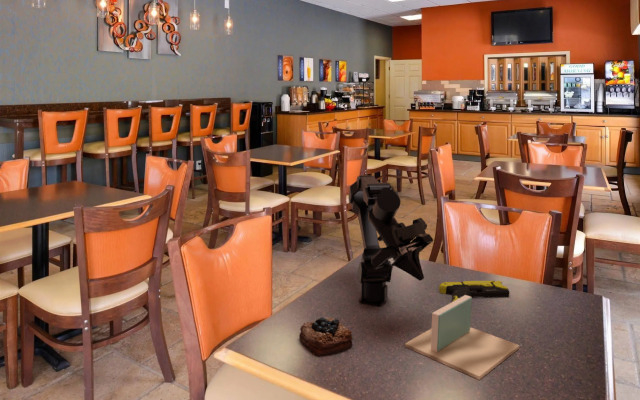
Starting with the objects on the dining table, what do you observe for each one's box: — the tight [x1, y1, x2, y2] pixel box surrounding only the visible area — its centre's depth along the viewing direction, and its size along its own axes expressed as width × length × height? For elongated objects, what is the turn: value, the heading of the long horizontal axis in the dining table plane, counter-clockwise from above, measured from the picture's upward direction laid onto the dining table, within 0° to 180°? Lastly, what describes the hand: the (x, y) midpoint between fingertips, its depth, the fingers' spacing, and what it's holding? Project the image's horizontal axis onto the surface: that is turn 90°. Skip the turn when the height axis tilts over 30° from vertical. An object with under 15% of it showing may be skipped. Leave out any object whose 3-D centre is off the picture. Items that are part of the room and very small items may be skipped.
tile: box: [431, 295, 473, 352], centre depth 117 cm, size 2×14×9 cm, turn 134°
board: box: [404, 326, 520, 381], centre depth 116 cm, size 19×18×1 cm
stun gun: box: [438, 280, 510, 303], centre depth 143 cm, size 3×19×15 cm
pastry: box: [299, 316, 354, 357], centre depth 119 cm, size 11×12×6 cm
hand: (422, 279), depth 122 cm, fingers closed
